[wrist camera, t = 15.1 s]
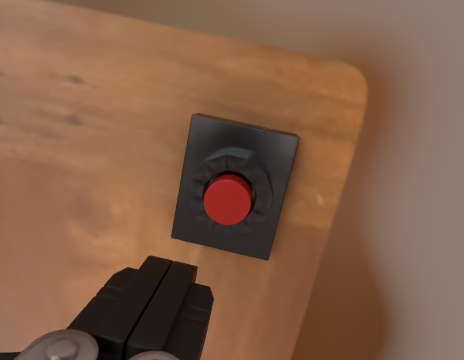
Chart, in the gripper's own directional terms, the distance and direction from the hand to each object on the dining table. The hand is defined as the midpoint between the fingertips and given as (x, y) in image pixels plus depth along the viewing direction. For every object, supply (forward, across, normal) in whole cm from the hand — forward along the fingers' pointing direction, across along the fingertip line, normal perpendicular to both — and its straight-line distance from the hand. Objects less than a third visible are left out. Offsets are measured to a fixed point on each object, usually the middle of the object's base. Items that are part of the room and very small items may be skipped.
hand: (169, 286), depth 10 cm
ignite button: (+14, -1, +1) cm, 14 cm away
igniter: (+18, 0, +1) cm, 18 cm away
